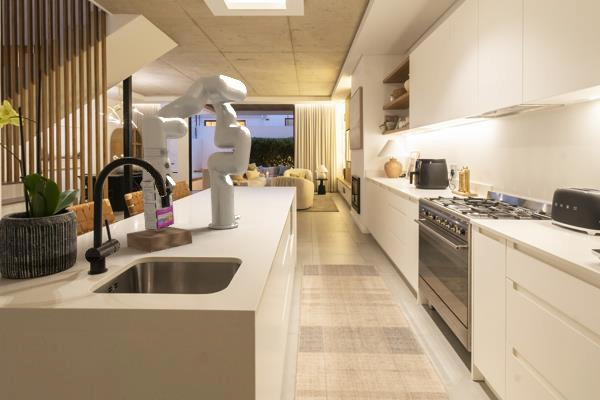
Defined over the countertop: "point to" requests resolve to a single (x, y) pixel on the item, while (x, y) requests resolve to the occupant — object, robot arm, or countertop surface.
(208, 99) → the robot arm
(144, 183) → the candy bar box
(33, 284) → the countertop surface
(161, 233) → the walnut block
